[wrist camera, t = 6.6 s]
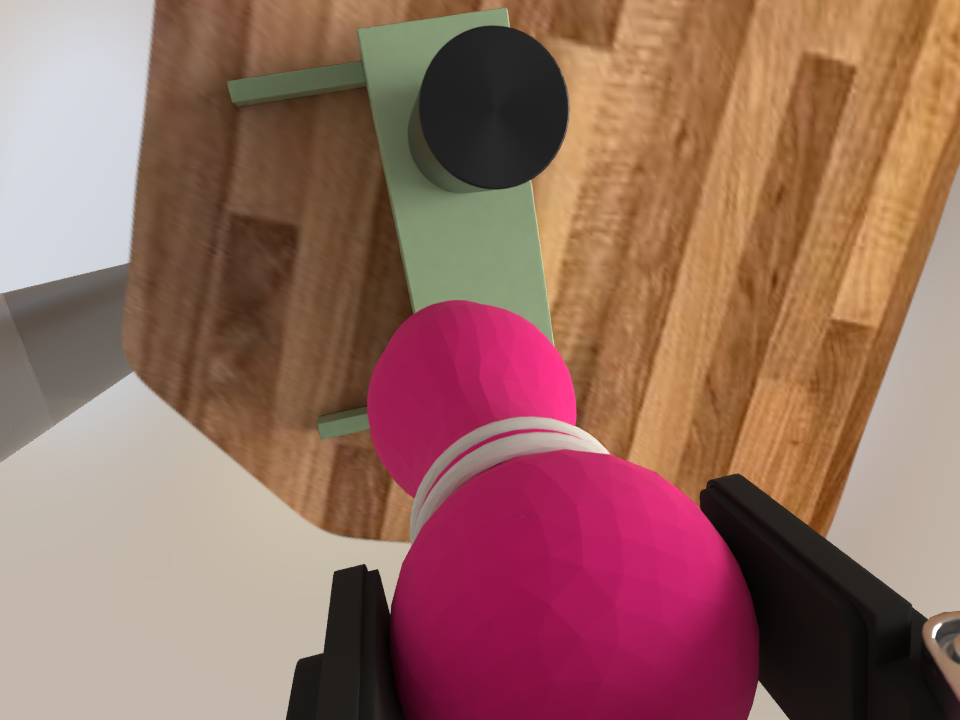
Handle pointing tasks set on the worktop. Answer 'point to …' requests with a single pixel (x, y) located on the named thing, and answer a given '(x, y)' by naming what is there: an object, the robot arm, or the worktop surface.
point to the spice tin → (488, 111)
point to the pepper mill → (543, 545)
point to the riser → (427, 185)
